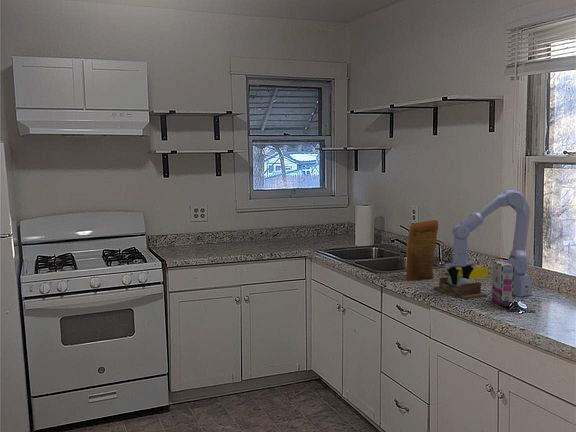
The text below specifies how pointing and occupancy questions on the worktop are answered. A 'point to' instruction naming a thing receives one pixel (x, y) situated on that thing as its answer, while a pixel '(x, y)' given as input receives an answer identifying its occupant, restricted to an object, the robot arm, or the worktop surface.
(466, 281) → the paper roll
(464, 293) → the roll cradle
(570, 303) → the worktop surface
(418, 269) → the pancake mix bag
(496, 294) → the candy bar box
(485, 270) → the element tile
